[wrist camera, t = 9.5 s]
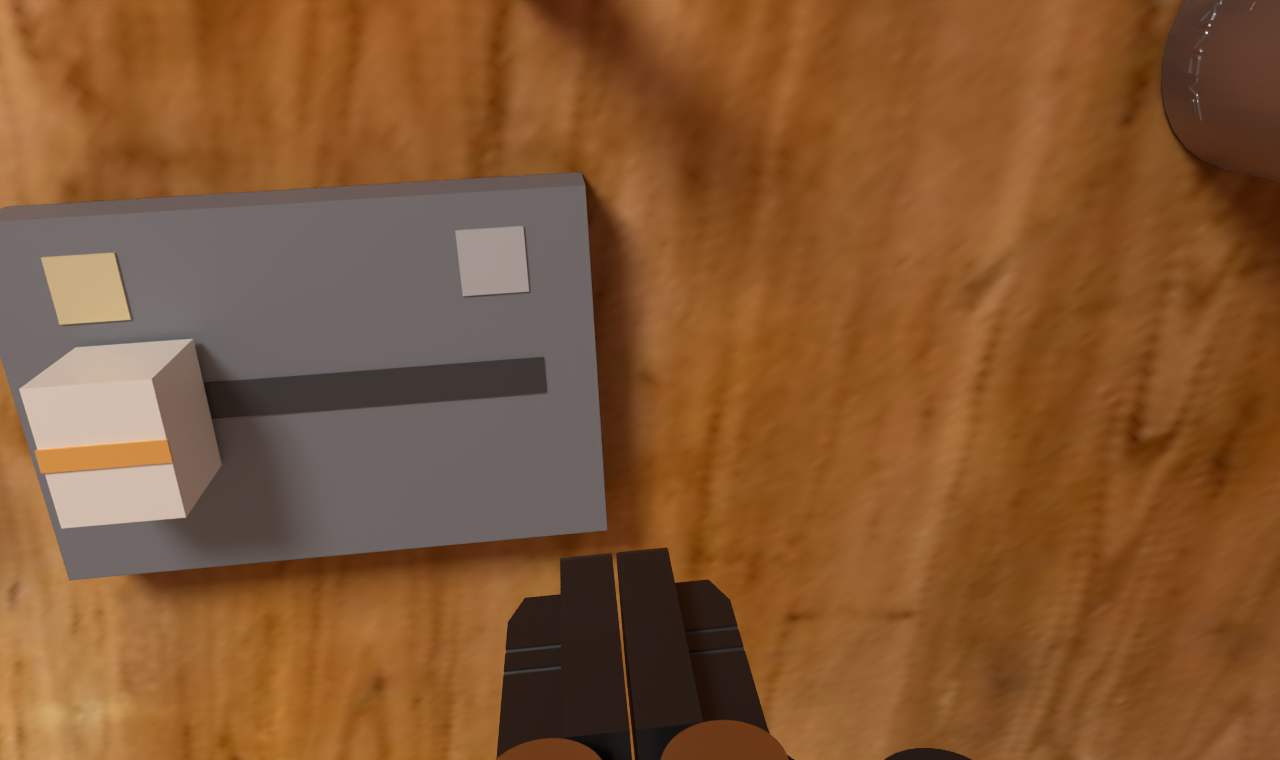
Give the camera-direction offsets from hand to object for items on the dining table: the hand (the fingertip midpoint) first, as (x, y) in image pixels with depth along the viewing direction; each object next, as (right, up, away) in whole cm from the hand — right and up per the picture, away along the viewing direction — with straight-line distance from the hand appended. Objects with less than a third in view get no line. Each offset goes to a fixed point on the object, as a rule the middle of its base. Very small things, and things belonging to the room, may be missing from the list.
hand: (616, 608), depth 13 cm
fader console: (-12, +4, +25) cm, 28 cm away
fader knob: (-17, +2, +21) cm, 28 cm away
